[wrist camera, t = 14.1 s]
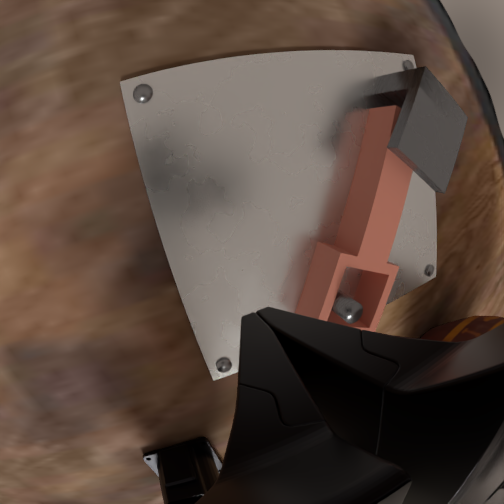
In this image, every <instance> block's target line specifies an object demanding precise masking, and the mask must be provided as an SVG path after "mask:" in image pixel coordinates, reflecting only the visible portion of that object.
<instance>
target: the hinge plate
mask: <svg viewBox="0 0 504 504" xmlns="http://www.w3.org/2000/svg"><path fill="white" fill-rule="evenodd" d="M414 68H416V64H415V60H414V56H413V55H409V54H399V53H388V52H374V51H352V50H312V51H289V52H275V53H263V54H253V55H245V56H237V57H229V58H223V59H216V60H210V61H204V62H199V63H194V64H188V65H184V66H179V67H174V68H170V69H165V70H161V71H157V72H153V73H149V74H145V75H141V76H138V77H134V78H131V79H127V80H124V81H121V82H120V85H121V90H122V95H123V99H124V104H125V108H126V113H127V117H128V121H129V126H130V130H131V134H132V138H133V142H134V146H135V150H136V154H137V158H138V162H139V165H140V169H141V173H142V176H143V180H144V184H145V187H146V191H147V194H148V198H149V201H150V205H151V208H152V211H153V215H154V218H155V221H156V224H157V228H158V231H159V234H160V237H161V240H162V243H163V247H164V250H165V253H166V256H167V259H168V262H169V265H170V268H171V271H172V274H173V276H174V279H175V282H176V285H177V288H178V291H179V294H180V296H181V299H182V302H183V305H184V307H185V310H186V313H187V315H188V318H189V321H190V323H191V326H192V329H193V331H194V334H195V337H196V339H197V342H198V344H199V347H200V349H201V352H202V354H203V357H204V359H205V362H206V364H207V366H208V369H209V371H210V374H211V376H212V379H213V381H215V380H218V379H221V378H223V377H226V376H229V375H231V374H234V373H237V372H238V368H239V349H240V331H241V318H242V316H244V315H247V314H250V313H252V312H255V313H256V311H258V310H260V309H263V308H265V307H273V308H276V309H280V310H284V311H288V312H292V313H295V311H296V308H297V305H298V302H299V299H300V296H301V293H302V290H303V287H304V284H305V281H306V278H307V274H308V271H309V268H310V265H311V262H312V258H313V255H314V252H315V249H316V245H317V242H322V243H326V244H331V245H334V243H335V240H336V236H337V233H338V230H339V226H340V223H341V219H342V216H343V212H344V209H345V205H346V202H347V198H348V195H349V191H350V187H351V183H352V180H353V176H354V172H355V168H356V164H357V160H358V156H359V152H360V148H361V144H362V140H363V136H364V131H365V127H366V123H367V118H368V114H369V109H371V108H378V107H386V106H385V105H384V104H383V103H382V102H381V101H380V100H379V99H377V98H376V97H375V96H374V95H373V92H374V90H375V87H376V85H377V82H378V80H379V77H380V76H382V75H386V74H391V73H395V72H400V71H405V70H409V69H414ZM388 261H389V262H391V263H393V264H395V265H397V266H399V269H398V272H397V275H396V278H395V281H394V283H393V286H392V289H391V292H390V294H389V297H388V300H387V302H386V305H387V304H388V303H390V302H392V301H394V300H396V299H398V298H400V297H401V296H403V295H405V294H407V293H409V292H410V291H412V290H414V289H416V288H417V287H419V286H421V285H423V284H424V283H426V282H428V281H429V280H431V279H433V278H435V277H436V263H437V221H436V197H435V191H434V190H433V189H432V188H431V187H430V186H429V185H428V184H427V183H426V182H425V181H424V180H423V179H421V178H420V177H419V176H418V175H417V174H416V173H415V172H414V171H412V176H411V180H410V184H409V188H408V192H407V196H406V200H405V204H404V208H403V211H402V215H401V218H400V222H399V225H398V229H397V232H396V236H395V239H394V242H393V245H392V249H391V252H390V255H389V258H388ZM362 272H363V270H362V269H357V268H352V267H347V266H346V269H345V272H344V275H343V278H342V281H341V284H340V287H339V290H341V291H342V292H343V293H345V294H346V295H348V296H349V297H351V298H352V299H353V298H354V295H355V292H356V290H357V287H358V284H359V281H360V278H361V275H362ZM331 311H332V310H331Z"/></svg>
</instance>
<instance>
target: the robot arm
mask: <svg viewBox="0 0 504 504" xmlns="http://www.w3.org/2000/svg"><path fill="white" fill-rule="evenodd" d="M143 459H144V461H145V462H146V463H147V464H148V465H149V467H150V468H151V469H152V470H153V471H154V472H155V473H156V474H157V475H158V476H159V480H160V486H161V491H162V496H163V500H164V504H504V323H503V324H501V325H499V326H497V327H496V328H494V329H492V330H490V331H488V332H486V333H485V334H483V335H481V336H479V337H477V338H474V339H471V340H468V341H463V342H446V341H436V340H426V339H416V338H407V337H400V336H393V335H387V334H382V333H377V332H372V331H367V330H362V331H361V329H358V328H354V327H349V326H345V325H341V324H337V323H332V322H328V321H324V320H320V319H316V318H312V317H308V316H304V315H300V314H296V313H292V312H288V311H284V310H280V309H276V308H273V307H265V308H263V309H260V310H258V311H256V313H255V312H252V313H250V314H247V315H244V316H242V318H241V331H240V349H239V368H238V387H237V400H236V409H235V415H234V420H233V424H232V429H231V433H230V437H229V440H228V444H227V448H226V452H225V456H224V460H223V464H222V463H221V461H220V459H219V458H218V456H217V454H216V453H215V451H214V450H213V448H212V446H211V445H210V443H209V441H208V440H207V438H205V437H201V438H198V439H195V440H191V441H188V442H185V443H181V444H178V445H175V446H171V447H168V448H164V449H160V450H156V451H153V452H149V453H145V454H144V455H143Z"/></svg>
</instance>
